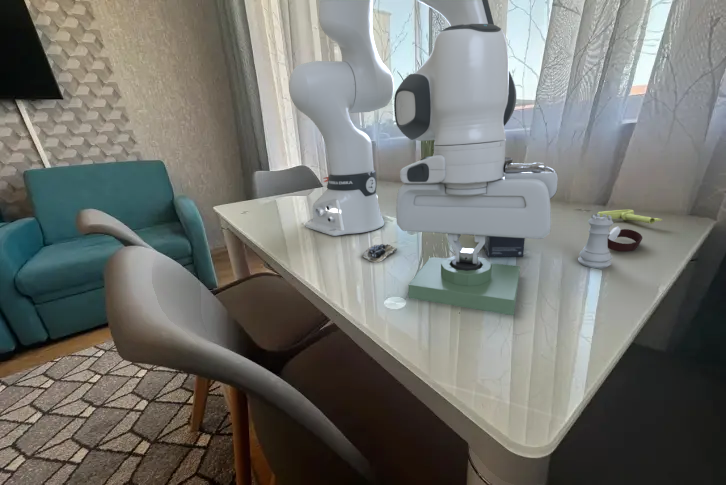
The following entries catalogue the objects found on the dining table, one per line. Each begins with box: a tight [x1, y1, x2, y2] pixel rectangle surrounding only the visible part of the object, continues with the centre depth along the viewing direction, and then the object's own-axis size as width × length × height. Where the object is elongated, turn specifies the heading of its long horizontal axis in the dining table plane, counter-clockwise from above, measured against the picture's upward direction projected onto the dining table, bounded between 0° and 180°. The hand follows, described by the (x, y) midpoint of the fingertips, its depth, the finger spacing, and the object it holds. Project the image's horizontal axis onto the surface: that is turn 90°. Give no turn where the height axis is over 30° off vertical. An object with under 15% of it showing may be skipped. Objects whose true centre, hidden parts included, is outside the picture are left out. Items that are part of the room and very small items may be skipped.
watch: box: [608, 226, 643, 252], centre depth 57 cm, size 8×5×4 cm, turn 118°
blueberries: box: [362, 243, 398, 263], centre depth 64 cm, size 7×8×2 cm
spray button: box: [452, 258, 480, 271], centre depth 47 cm, size 4×4×2 cm
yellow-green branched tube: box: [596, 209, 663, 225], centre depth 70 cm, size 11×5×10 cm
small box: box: [483, 236, 526, 258], centre depth 61 cm, size 11×6×10 cm, turn 168°
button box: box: [408, 255, 521, 316], centre depth 48 cm, size 14×11×4 cm
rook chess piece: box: [577, 213, 615, 269], centre depth 51 cm, size 4×4×8 cm
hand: (467, 262), depth 47 cm, fingers closed, pressing on spray button
